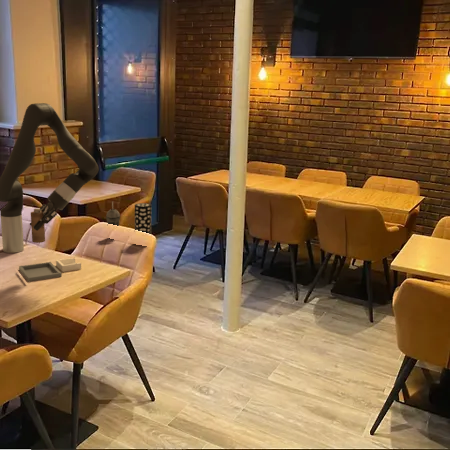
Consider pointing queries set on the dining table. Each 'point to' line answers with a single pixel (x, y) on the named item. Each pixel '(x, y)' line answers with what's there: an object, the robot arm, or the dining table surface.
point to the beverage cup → (113, 216)
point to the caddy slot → (67, 264)
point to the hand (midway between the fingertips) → (33, 227)
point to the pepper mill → (40, 234)
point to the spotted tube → (143, 217)
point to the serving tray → (40, 271)
